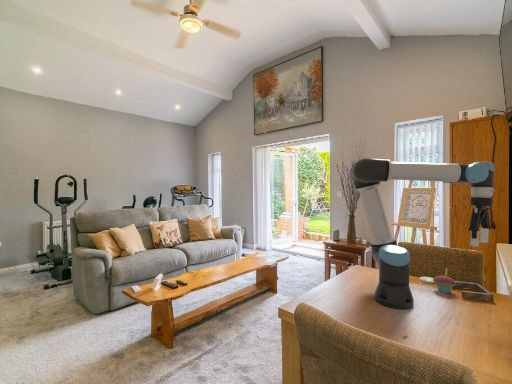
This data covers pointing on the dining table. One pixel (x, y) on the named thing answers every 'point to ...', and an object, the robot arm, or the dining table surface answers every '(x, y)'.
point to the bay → (482, 295)
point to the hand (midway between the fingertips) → (479, 244)
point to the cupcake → (444, 283)
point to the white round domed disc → (427, 279)
